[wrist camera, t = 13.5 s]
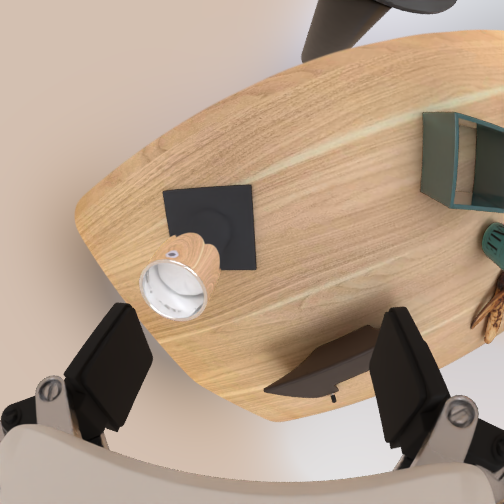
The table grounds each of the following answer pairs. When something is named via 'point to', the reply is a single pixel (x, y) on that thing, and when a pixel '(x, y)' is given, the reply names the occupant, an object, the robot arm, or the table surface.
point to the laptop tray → (329, 366)
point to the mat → (228, 204)
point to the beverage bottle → (494, 243)
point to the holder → (446, 162)
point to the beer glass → (186, 267)
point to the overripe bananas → (493, 312)
